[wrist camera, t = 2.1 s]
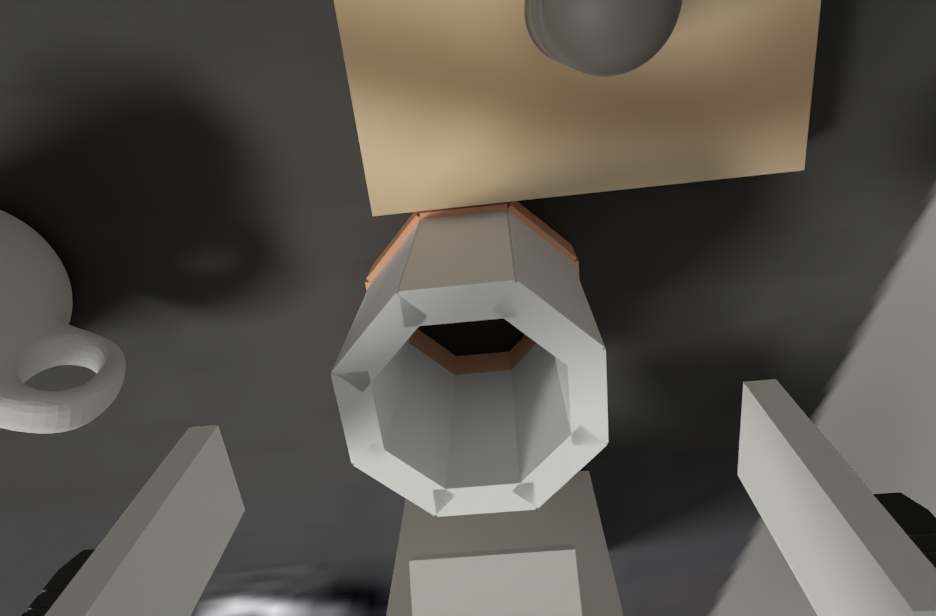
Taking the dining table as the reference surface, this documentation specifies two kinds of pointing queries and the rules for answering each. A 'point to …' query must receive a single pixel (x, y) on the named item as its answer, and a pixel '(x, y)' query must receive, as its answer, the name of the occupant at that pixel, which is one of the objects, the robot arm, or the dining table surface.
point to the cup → (46, 339)
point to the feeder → (507, 561)
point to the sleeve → (473, 365)
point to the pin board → (573, 95)
